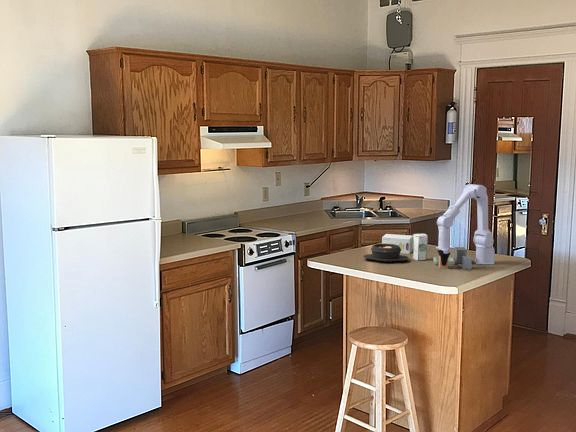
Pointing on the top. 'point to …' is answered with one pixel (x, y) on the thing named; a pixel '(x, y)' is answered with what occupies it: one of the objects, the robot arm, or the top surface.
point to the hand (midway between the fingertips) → (443, 264)
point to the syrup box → (420, 247)
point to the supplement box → (399, 242)
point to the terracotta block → (441, 264)
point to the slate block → (466, 262)
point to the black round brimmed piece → (386, 253)
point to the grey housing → (459, 254)
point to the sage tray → (450, 261)
